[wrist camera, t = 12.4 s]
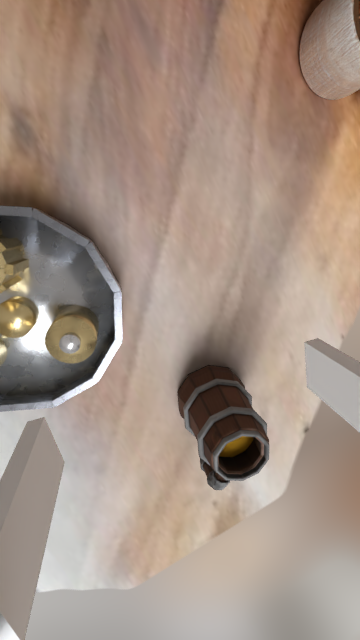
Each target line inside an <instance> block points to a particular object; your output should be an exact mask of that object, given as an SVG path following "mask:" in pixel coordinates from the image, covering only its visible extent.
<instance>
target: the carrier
mask: <svg viewBox="0 0 360 640" xmlns="http://www.w3.org/2000/svg"><path fill="white" fill-rule="evenodd" d="M0 229H2V235H3V236H4V237H6V238H8V239H10V238H18V240H19V241H20V242H21V243H22V244H23V246H21V247H20V248H19V249H20V252H21V254H22V257H23V258H25V259H29V268H27V269H25V270H23V271H21V272H20V273H19V276H20V277H21V278H22V280H21V281H20V282H18V283H17V284H16V285H14V286H12V287H11V288H9V289H7V290H6V291H4V292H2V293H1V294H0V412H2V411H15V410H28V409H41V408H53V407H56V406H57V405H59V404H61V403H63V402H64V401H66V400H68V399H70V398H72V397H73V396H75V395H77V394H79V393H80V392H82V391H84V390H86V389H87V388H89V387H91V386H93V385H94V384H96V383H97V382H98V381H99V380H100V378H101V376H102V375H103V373H104V371H105V370H106V368H107V366H108V365H109V363H110V361H111V360H112V358H113V356H114V355H115V353H116V351H117V350H118V348H119V346H120V345H121V343H122V295H121V286H120V284H119V283H118V281H117V280H116V278H115V276H114V274H113V272H112V271H111V269H110V267H109V265H108V263H107V262H106V260H105V259H104V257H103V256H102V255H101V253H100V252H99V250H98V249H97V247H96V246H95V244H94V242H93V241H92V242H91V239H89V238H87V237H86V236H84V235H82V234H81V233H79V232H78V231H76V230H75V229H73V228H72V227H70V226H69V225H67V224H65V223H63V222H61V221H59V220H57V219H55V218H53V217H52V216H50V215H48V214H47V213H45V212H43V211H42V210H40V209H37V208H32V207H14V206H0Z"/></svg>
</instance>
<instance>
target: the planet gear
mask: <svg viewBox="0 0 360 640" xmlns="http://www.w3.org/2000/svg"><path fill="white" fill-rule="evenodd" d="M21 246H23V244H22V243H21V242H20V241H19V240H18V238H10V239H8V238H6V237H4V236H3V235H2V229H0V294H1V293H2V292H4V291H6V290H7V289H9V288H11V287H12V286H14V285H16V284H17V283H18V282H20V281H21V280H22V278H21V277H20V276H19V273H20V272H21V271H23V270H25V269H27V268H29V259H25V258H23V257H22V254H21V252H20V249H19V248H20V247H21Z"/></svg>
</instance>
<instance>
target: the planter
mask: <svg viewBox="0 0 360 640" xmlns="http://www.w3.org/2000/svg"><path fill="white" fill-rule="evenodd" d="M299 59H300V66H301V71H302V74H303V77H304V79H305V81H306V83H307V85H308V86H309V88H310V89H311V90H312V91H313V92H314V93H315V94H317V95H318V96H320V97H322V98H324V99H328V100H336V99H340V98H343V97H346V96H348V95H350V94H352V93H354V92H355V91H357V90H359V89H360V0H323V1H322V2H321V3H320V4H319V5H318V6H317V7H316V9H315V10H314V11H313V13H312V14H311V16H310V17H309V19H308V21H307V23H306V25H305V27H304V30H303V33H302V36H301V41H300V49H299Z"/></svg>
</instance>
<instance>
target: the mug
mask: <svg viewBox="0 0 360 640" xmlns="http://www.w3.org/2000/svg"><path fill="white" fill-rule="evenodd" d="M178 402H179V411H180V414H181V417H182V418H184V420H185V428H186V429H187V430H188V431H189V432H191V433H192V434H193V435H194V436H195V437H196V439H197V441H198V453H199V457H200V464H201V469H202V470H203V471H204V472H205V473H206V475H207V482H208V484H209V485H210V486H211V487H212V488H213V489H214V490H222V489H224V488H225V487H226V486H227V485H228V483H230V480H235V481H243V480H245V479H247V478H249V477H251V476H253V475H255V474H257V473H259V472H260V470H261V469H262V468H263V466H264V465H265V464H266V462H267V461H268V460H269V439H268V437H267V424H266V422H265V421H264V420H263V419H262V418H261V417H260V416H259V415H258V414H257V413H256V412H255V411H254V410H253V408H252V396H251V395H250V394H249V393H248V392H247V391H246V390H245V386H244V385H243V383H242V382H241V381H240V380H239V379H238V377H237V376H236V375H235V374H234V373H233V372H232V371H231V370H230V369H229V368H226V367H218V366H211V365H208V366H206V367H204V368H202V369H200V370H197V371H195V372H193V373H191V374H189V375H188V377H187V378H186V380H185V381H184V383H183V384H182V386H181V387H180V389H179V391H178Z"/></svg>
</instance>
